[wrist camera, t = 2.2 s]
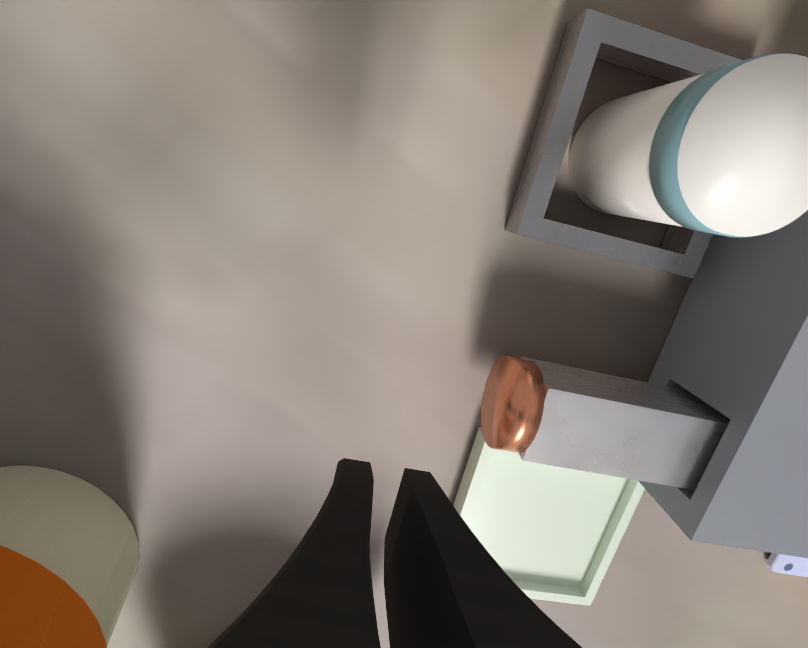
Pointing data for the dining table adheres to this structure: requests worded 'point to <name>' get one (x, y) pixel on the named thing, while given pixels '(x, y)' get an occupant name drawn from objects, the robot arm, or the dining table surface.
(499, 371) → the copper knob grey block
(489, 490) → the tray
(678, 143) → the cylinder
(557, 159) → the collar
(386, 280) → the dining table surface
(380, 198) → the dining table surface
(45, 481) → the reusable coffee cup
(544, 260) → the dining table surface
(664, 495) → the housing
